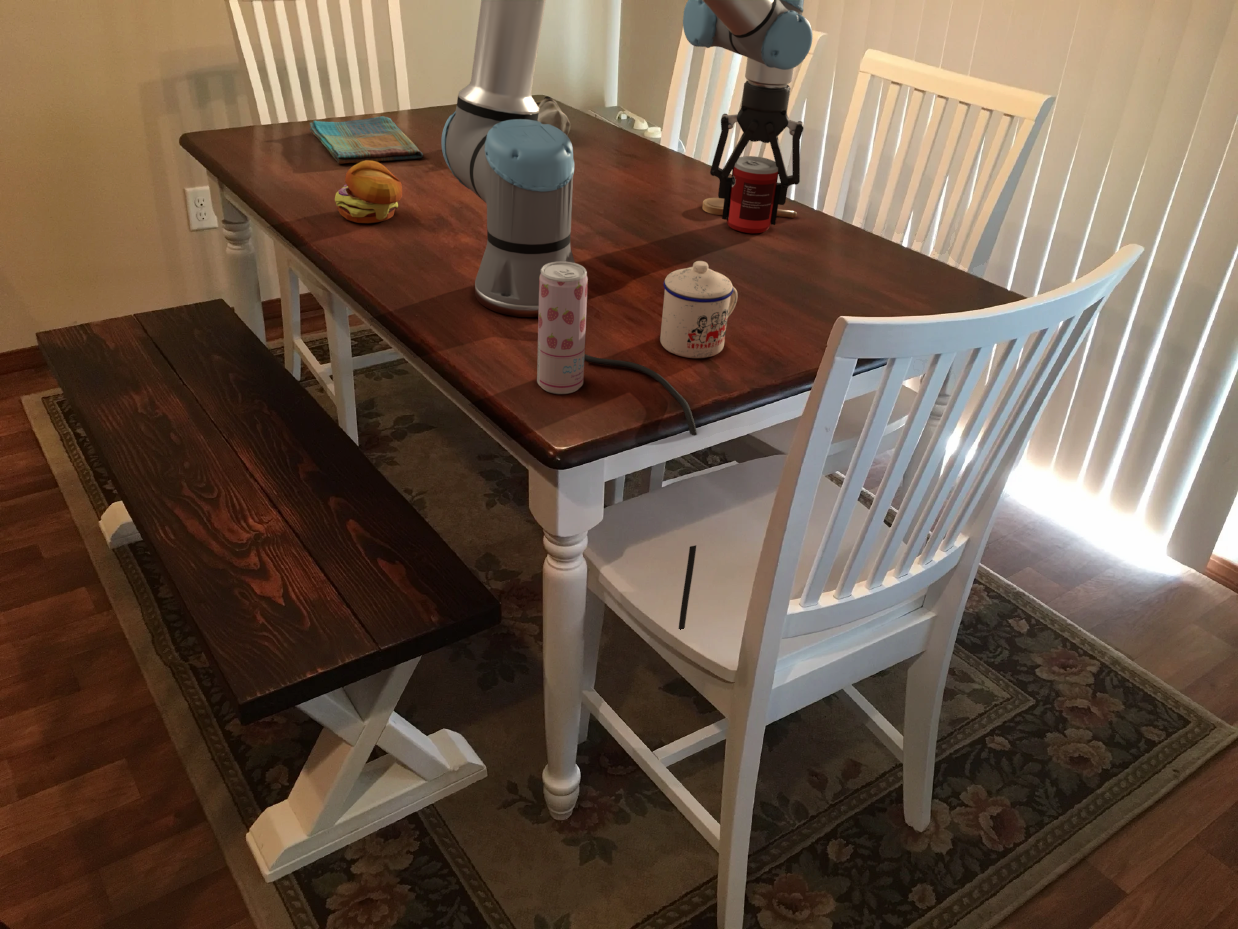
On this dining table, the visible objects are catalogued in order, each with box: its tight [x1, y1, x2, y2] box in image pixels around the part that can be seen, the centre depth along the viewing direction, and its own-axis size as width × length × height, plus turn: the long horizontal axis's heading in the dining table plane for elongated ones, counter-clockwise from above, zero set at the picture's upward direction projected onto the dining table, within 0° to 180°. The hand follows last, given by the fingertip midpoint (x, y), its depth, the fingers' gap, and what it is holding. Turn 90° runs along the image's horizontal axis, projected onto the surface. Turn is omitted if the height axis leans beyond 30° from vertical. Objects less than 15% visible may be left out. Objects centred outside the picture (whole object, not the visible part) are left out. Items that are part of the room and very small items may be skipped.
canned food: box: [725, 155, 779, 234], centre depth 170 cm, size 8×8×11 cm
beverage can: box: [536, 261, 589, 395], centre depth 118 cm, size 6×6×15 cm
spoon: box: [701, 197, 798, 219], centre depth 179 cm, size 17×6×1 cm, turn 82°
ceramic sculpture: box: [535, 95, 572, 137], centre depth 210 cm, size 11×9×15 cm
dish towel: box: [309, 115, 424, 165], centre depth 198 cm, size 17×23×2 cm
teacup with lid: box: [659, 260, 739, 359], centre depth 131 cm, size 12×9×12 cm
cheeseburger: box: [334, 160, 403, 224], centre depth 164 cm, size 10×11×10 cm
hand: (748, 219), depth 172 cm, fingers closed on canned food, 8 cm apart
